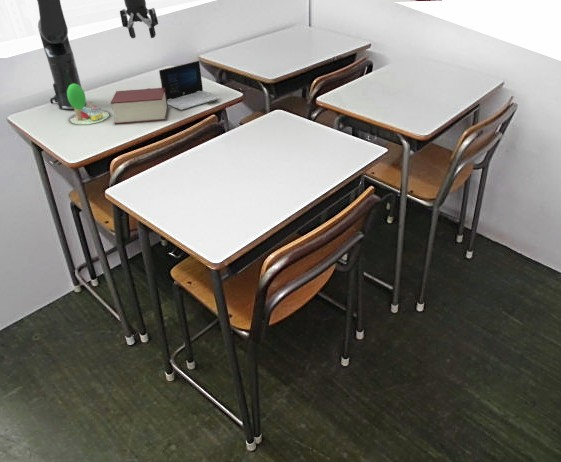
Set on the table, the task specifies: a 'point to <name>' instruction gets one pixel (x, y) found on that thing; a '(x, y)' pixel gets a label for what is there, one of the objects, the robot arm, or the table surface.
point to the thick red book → (140, 105)
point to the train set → (83, 107)
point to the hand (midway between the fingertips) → (143, 37)
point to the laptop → (184, 86)
